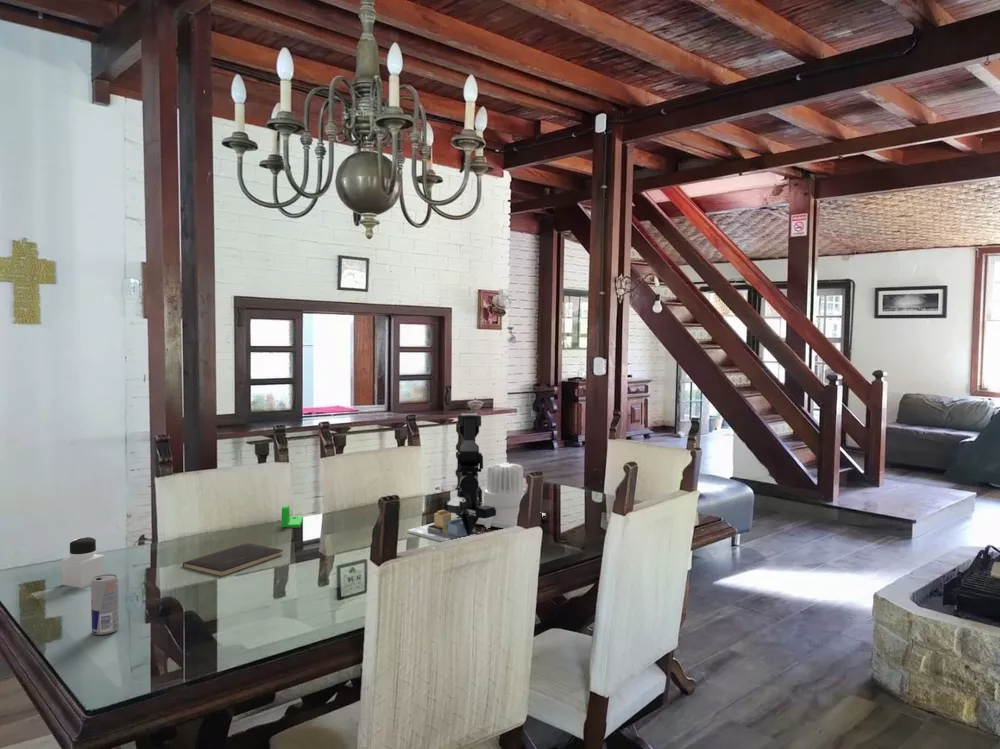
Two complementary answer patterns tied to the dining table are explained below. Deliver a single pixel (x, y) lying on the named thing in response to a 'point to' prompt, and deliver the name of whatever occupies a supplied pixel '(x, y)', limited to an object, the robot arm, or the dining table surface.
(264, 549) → the hardcover book
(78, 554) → the medicine bottle
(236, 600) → the dining table surface
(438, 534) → the seat jig
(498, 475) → the recessed light fixture
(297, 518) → the mechanical part
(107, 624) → the energy drink
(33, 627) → the dining table surface
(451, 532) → the block
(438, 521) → the block
